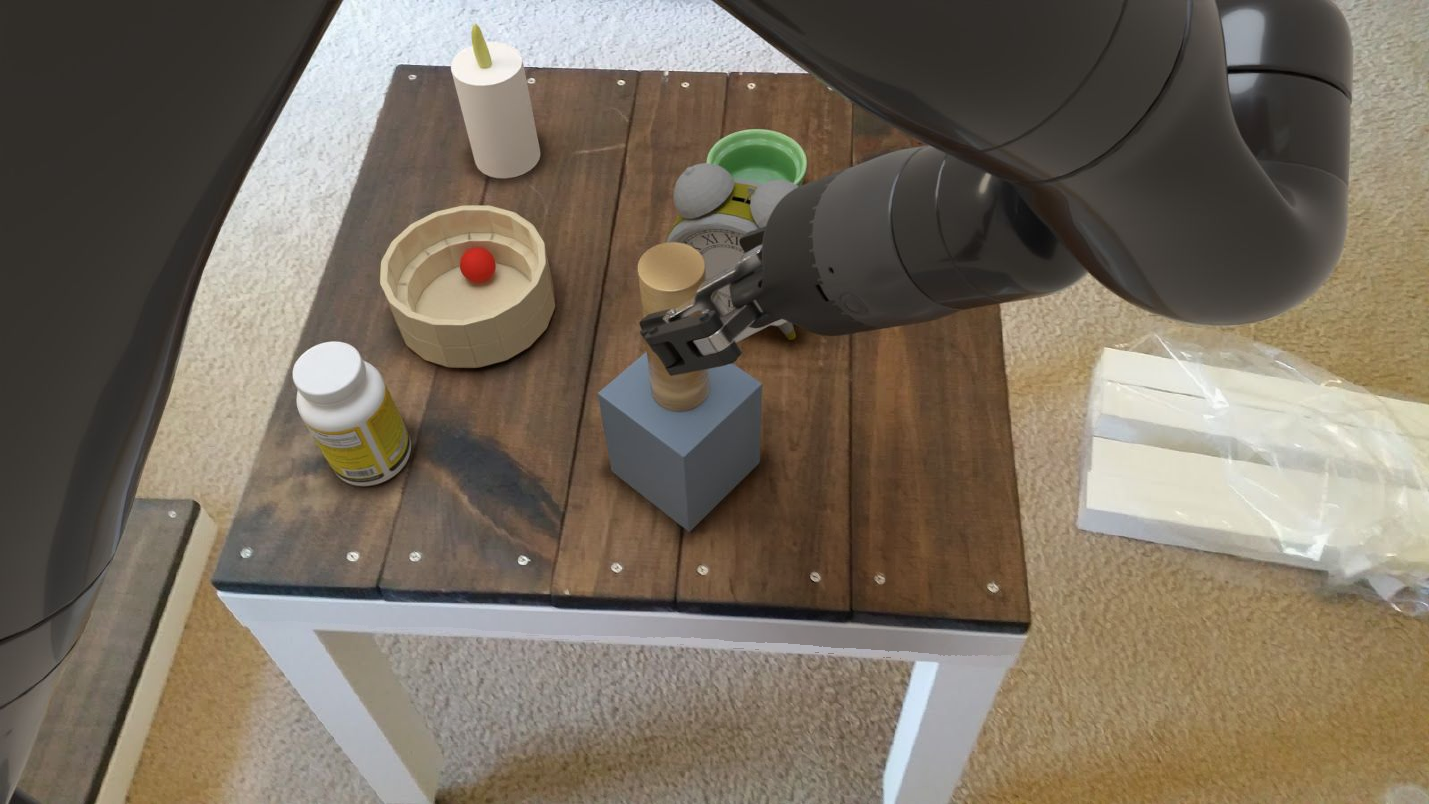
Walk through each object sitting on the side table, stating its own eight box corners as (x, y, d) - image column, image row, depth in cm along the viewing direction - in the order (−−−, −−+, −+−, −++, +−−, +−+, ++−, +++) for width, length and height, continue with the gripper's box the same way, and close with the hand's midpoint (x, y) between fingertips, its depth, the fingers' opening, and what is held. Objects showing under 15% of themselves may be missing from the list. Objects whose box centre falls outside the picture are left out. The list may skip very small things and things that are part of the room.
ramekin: (758, 152, 101) (759, 115, 97) (825, 200, 96) (828, 163, 93) (687, 195, 97) (685, 158, 94) (753, 247, 93) (753, 211, 90)
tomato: (479, 295, 89) (472, 271, 87) (456, 278, 91) (448, 254, 88) (505, 275, 91) (499, 251, 88) (482, 259, 92) (476, 234, 90)
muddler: (681, 421, 70) (673, 301, 60) (638, 390, 71) (623, 268, 62) (721, 385, 72) (719, 263, 62) (678, 355, 73) (669, 231, 63)
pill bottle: (389, 409, 83) (347, 317, 74) (427, 459, 80) (388, 371, 71) (317, 450, 81) (265, 361, 72) (354, 503, 78) (304, 418, 69)
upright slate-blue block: (689, 532, 76) (683, 457, 68) (611, 471, 79) (597, 393, 71) (760, 462, 80) (762, 383, 72) (682, 407, 83) (676, 324, 75)
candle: (541, 131, 103) (515, -7, 91) (539, 176, 99) (512, 38, 87) (477, 135, 103) (442, -3, 91) (472, 180, 99) (436, 42, 87)
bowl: (470, 400, 84) (453, 352, 79) (367, 317, 89) (346, 268, 84) (588, 305, 89) (580, 256, 85) (484, 232, 95) (471, 182, 90)
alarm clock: (665, 320, 88) (654, 186, 76) (694, 264, 92) (687, 127, 80) (798, 356, 86) (808, 222, 74) (821, 297, 90) (835, 160, 77)
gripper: (934, 95, 49) (747, 174, 63) (735, 262, 43) (576, 309, 57) (1007, 229, 52) (811, 277, 65) (828, 406, 45) (653, 417, 59)
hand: (702, 292), depth 61 cm, fingers open, 8 cm apart
